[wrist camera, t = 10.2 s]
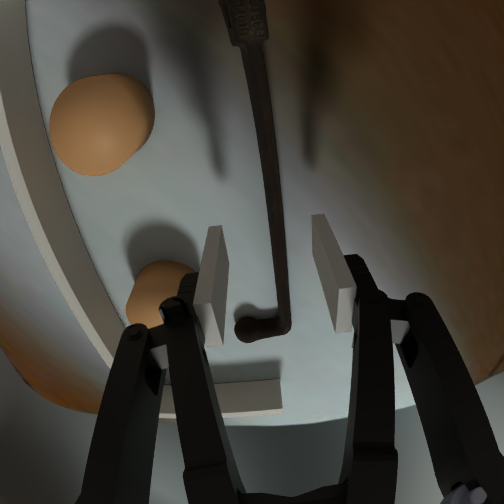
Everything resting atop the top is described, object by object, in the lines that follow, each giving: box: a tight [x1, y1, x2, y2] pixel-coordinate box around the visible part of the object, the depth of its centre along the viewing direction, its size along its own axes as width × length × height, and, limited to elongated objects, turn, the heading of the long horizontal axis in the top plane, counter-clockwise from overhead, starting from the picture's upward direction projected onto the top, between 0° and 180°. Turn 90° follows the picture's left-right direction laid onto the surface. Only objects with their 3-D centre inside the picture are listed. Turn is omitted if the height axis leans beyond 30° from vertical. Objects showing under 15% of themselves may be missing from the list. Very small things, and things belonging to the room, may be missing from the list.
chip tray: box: [0, 0, 283, 418], centre depth 20 cm, size 16×44×4 cm, turn 7°
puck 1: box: [49, 73, 155, 176], centre depth 16 cm, size 6×6×4 cm
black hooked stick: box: [219, 0, 292, 343], centre depth 19 cm, size 5×5×30 cm
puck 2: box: [126, 260, 195, 329], centre depth 24 cm, size 6×6×4 cm
